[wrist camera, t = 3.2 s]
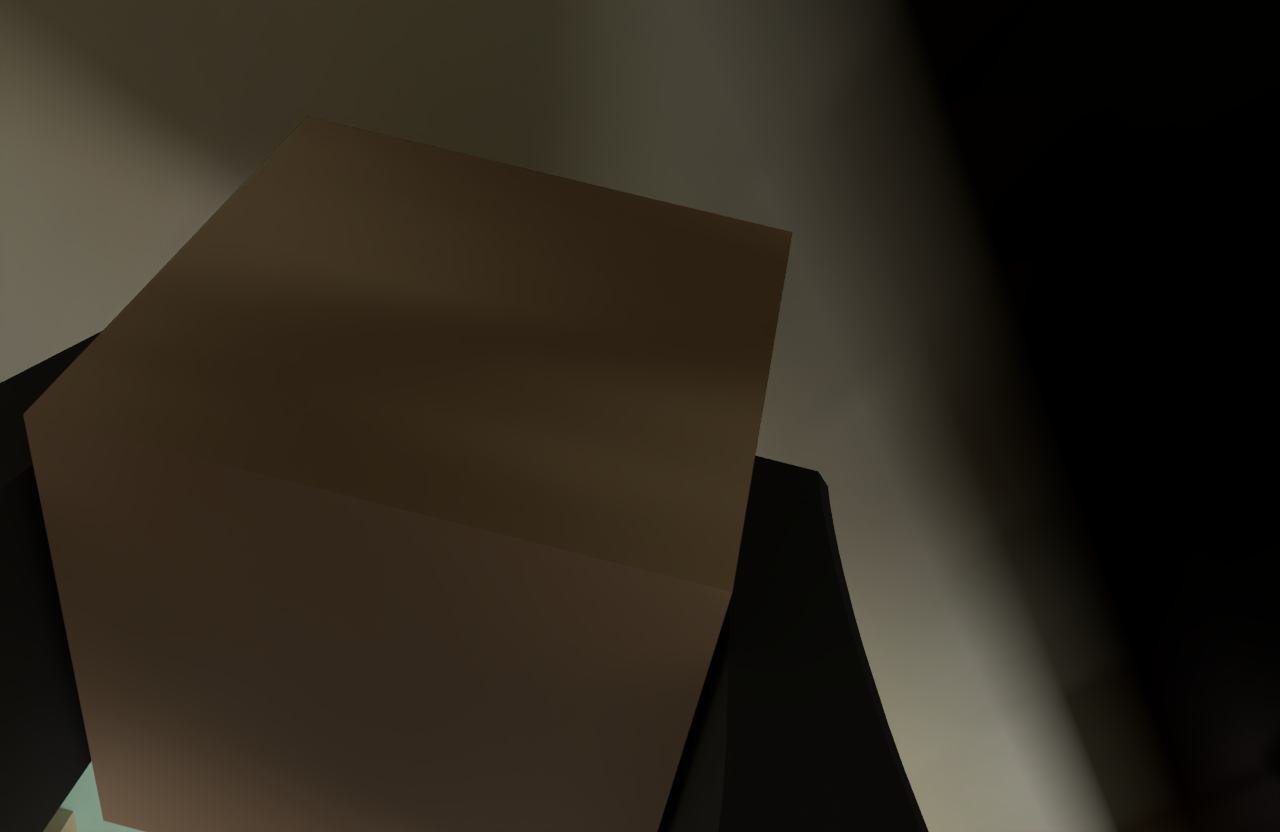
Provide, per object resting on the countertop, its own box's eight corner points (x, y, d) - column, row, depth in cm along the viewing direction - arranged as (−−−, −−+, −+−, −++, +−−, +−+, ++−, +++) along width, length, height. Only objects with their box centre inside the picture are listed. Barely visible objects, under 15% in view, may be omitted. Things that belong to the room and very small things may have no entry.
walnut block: (791, 232, 10) (733, 591, 7) (695, 576, 12) (618, 955, 9) (307, 116, 10) (23, 414, 7) (309, 480, 12) (103, 821, 9)
